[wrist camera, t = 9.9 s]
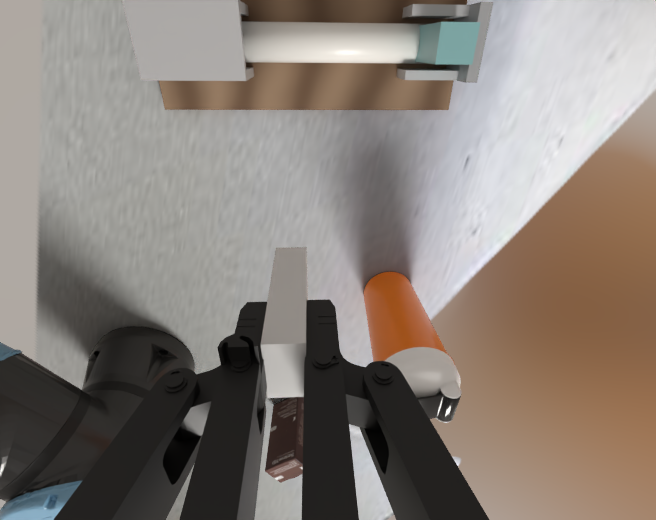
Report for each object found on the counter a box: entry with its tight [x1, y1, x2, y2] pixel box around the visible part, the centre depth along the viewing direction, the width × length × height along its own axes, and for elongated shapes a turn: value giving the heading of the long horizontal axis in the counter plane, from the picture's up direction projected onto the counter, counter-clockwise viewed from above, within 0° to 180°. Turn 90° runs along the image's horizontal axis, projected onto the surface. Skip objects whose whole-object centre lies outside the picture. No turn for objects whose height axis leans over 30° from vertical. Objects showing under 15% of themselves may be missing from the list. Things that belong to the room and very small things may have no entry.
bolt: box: [242, 21, 480, 65], centre depth 30 cm, size 20×3×9 cm, turn 90°
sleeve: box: [122, 0, 254, 81], centre depth 31 cm, size 9×6×5 cm, turn 89°
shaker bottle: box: [364, 272, 461, 423], centre depth 43 cm, size 9×9×20 cm
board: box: [159, 0, 467, 110], centre depth 35 cm, size 30×12×1 cm, turn 89°
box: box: [265, 397, 304, 482], centre depth 59 cm, size 6×4×12 cm
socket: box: [397, 2, 493, 82], centre depth 32 cm, size 6×6×6 cm
